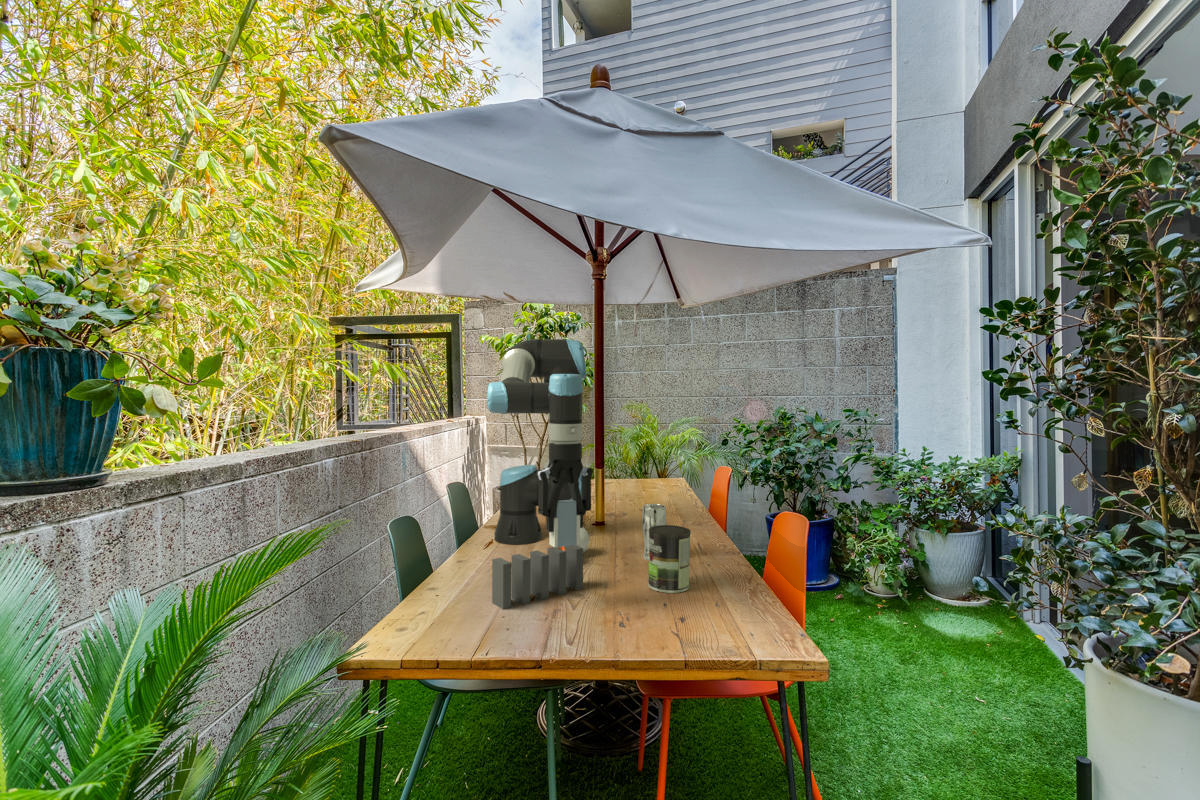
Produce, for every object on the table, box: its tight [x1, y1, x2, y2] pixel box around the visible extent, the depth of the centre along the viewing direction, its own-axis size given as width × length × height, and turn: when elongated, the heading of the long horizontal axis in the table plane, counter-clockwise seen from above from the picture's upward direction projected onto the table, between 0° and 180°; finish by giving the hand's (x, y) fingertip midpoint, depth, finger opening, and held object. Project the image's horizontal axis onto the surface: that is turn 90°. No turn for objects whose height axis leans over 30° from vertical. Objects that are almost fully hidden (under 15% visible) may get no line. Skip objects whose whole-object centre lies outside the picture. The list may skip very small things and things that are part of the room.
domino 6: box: [547, 546, 567, 596], centre depth 142 cm, size 2×5×10 cm, turn 39°
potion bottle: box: [558, 526, 590, 553], centre depth 170 cm, size 9×10×15 cm
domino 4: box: [555, 500, 576, 548], centre depth 135 cm, size 2×5×10 cm, turn 121°
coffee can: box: [647, 524, 692, 594], centre depth 146 cm, size 10×10×14 cm
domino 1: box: [491, 557, 512, 610], centre depth 133 cm, size 2×5×10 cm, turn 39°
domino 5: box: [565, 545, 584, 591], centre depth 145 cm, size 2×5×10 cm, turn 39°
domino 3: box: [529, 549, 550, 600], centre depth 139 cm, size 2×5×10 cm, turn 39°
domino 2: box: [511, 553, 531, 605], centre depth 136 cm, size 2×5×10 cm, turn 39°
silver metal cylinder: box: [641, 503, 667, 561], centre depth 171 cm, size 7×7×15 cm
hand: (564, 543), depth 135 cm, fingers closed on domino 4, 5 cm apart
